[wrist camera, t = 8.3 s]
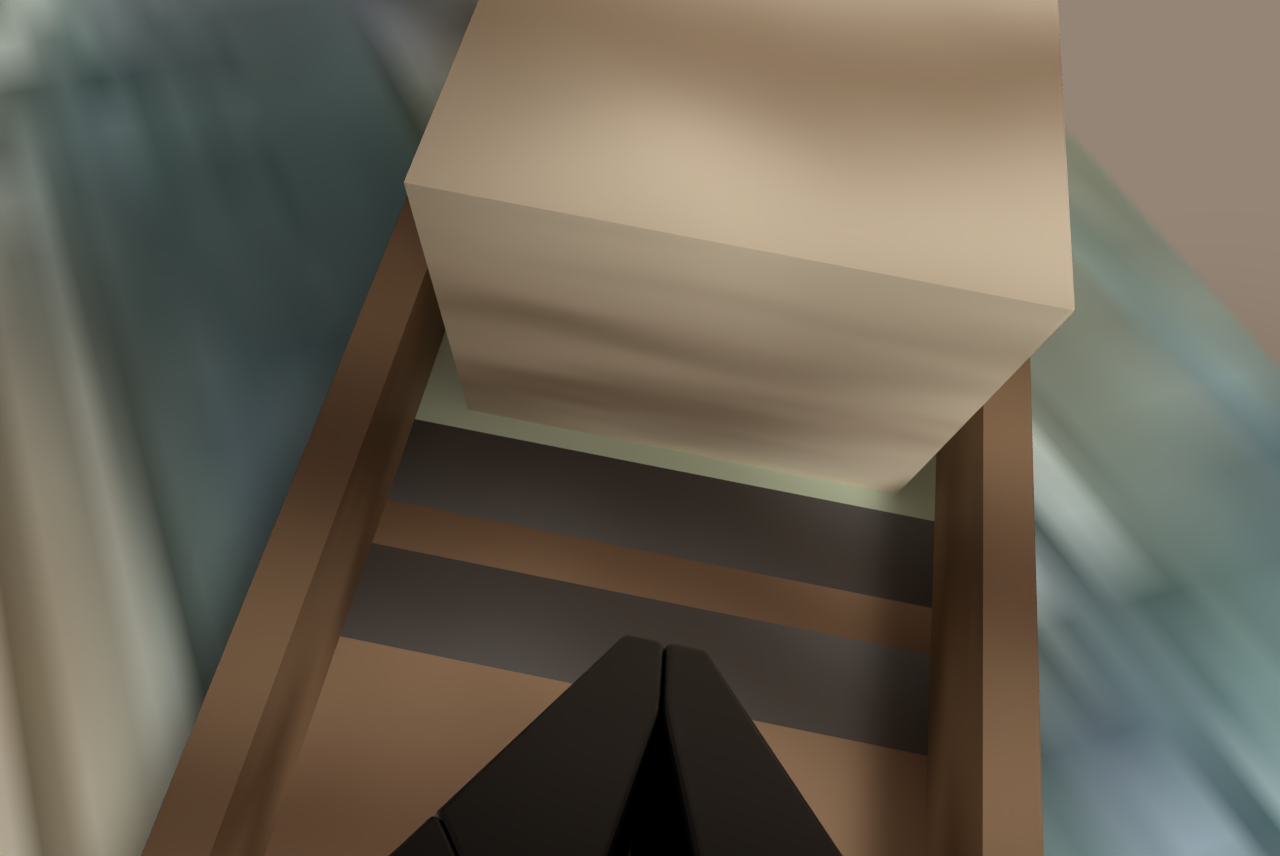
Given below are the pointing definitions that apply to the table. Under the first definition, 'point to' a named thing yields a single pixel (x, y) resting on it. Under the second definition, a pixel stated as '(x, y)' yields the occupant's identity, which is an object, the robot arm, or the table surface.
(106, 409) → the table surface
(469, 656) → the channel
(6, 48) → the table surface
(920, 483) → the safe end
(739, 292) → the birch block
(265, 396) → the table surface
